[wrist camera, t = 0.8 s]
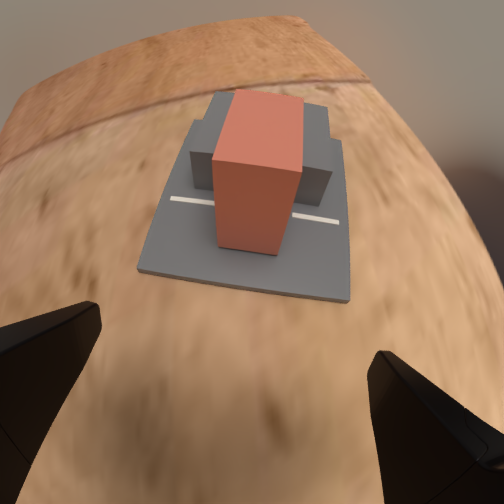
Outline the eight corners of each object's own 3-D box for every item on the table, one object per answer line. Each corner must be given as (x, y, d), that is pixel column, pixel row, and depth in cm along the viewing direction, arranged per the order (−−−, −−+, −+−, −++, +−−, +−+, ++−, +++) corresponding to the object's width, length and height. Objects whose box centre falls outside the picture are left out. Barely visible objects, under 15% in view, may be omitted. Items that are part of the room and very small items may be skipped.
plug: (277, 255, 24) (302, 172, 15) (217, 246, 24) (211, 159, 15) (284, 183, 28) (303, 98, 19) (233, 175, 28) (236, 88, 19)
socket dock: (346, 303, 24) (375, 276, 19) (139, 272, 24) (117, 238, 19) (339, 145, 33) (352, 108, 28) (194, 124, 33) (191, 85, 28)
